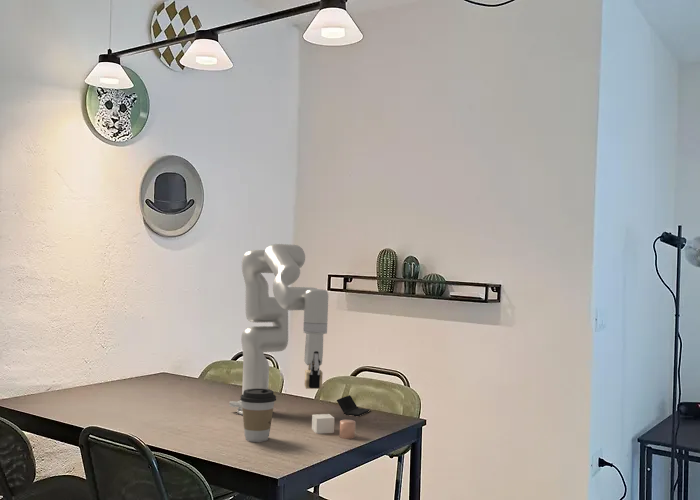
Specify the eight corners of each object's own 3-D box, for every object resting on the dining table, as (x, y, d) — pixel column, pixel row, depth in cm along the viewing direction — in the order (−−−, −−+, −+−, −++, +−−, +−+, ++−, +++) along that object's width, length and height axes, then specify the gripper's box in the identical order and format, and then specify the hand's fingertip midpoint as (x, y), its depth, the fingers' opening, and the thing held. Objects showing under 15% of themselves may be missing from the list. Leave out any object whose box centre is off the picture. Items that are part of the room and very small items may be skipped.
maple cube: (306, 388, 212) (306, 372, 213) (304, 385, 217) (305, 369, 218) (322, 388, 213) (322, 372, 213) (320, 385, 218) (320, 370, 218)
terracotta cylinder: (340, 438, 218) (341, 423, 218) (338, 435, 223) (338, 419, 223) (356, 438, 218) (356, 423, 219) (353, 435, 223) (354, 419, 224)
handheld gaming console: (363, 413, 250) (349, 389, 253) (348, 423, 251) (334, 400, 254) (372, 411, 261) (358, 389, 264) (357, 422, 262) (343, 399, 265)
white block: (316, 433, 224) (316, 418, 224) (311, 429, 229) (312, 414, 229) (333, 433, 225) (334, 417, 226) (328, 428, 231) (329, 414, 231)
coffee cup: (276, 443, 210) (278, 394, 210) (239, 444, 207) (241, 394, 208) (273, 434, 221) (274, 387, 221) (237, 434, 218) (239, 387, 219)
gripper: (301, 325, 224) (299, 381, 223) (305, 330, 207) (303, 391, 206) (324, 325, 225) (321, 381, 224) (330, 331, 208) (328, 391, 208)
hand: (313, 385), depth 215 cm, fingers closed on maple cube, 5 cm apart
